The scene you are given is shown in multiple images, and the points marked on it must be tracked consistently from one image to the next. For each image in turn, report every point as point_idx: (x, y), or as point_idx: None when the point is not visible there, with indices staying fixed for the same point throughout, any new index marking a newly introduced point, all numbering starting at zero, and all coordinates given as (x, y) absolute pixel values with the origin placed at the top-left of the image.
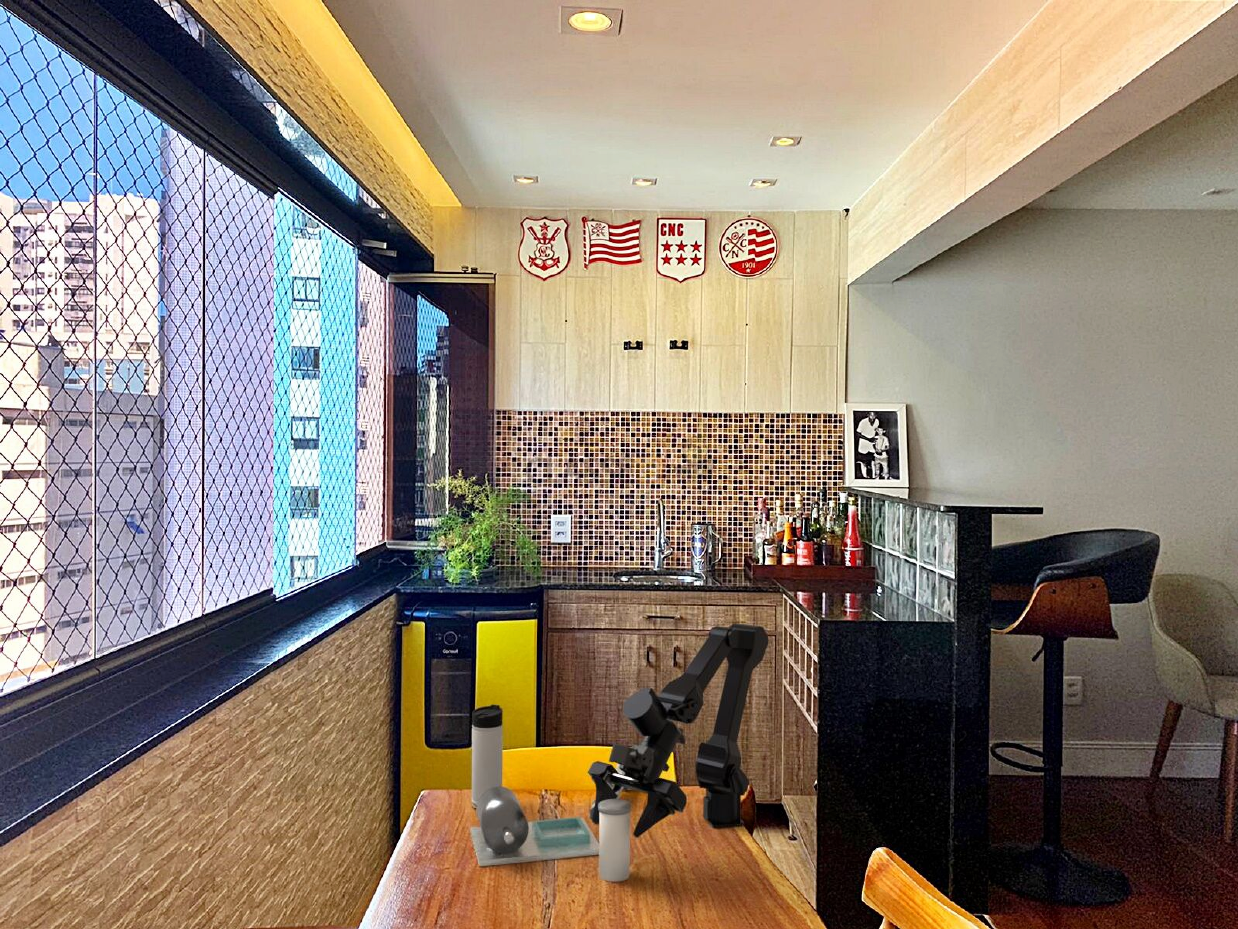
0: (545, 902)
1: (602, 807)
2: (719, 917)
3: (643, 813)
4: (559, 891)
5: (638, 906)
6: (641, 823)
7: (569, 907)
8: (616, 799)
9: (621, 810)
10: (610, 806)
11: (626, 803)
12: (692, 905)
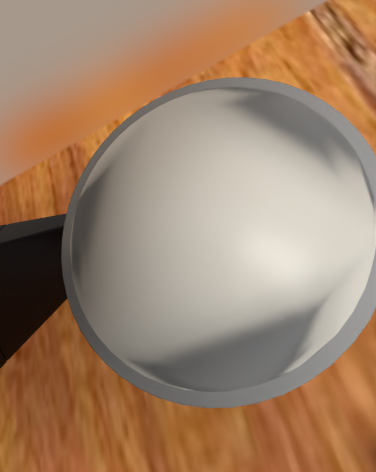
0: (372, 58)
1: (282, 100)
2: (14, 183)
3: (7, 236)
4: (372, 124)
5: None
6: (54, 216)
7: (295, 71)
8: (231, 387)
9: (110, 135)
10: (218, 159)
11: (102, 295)
12: (55, 205)
